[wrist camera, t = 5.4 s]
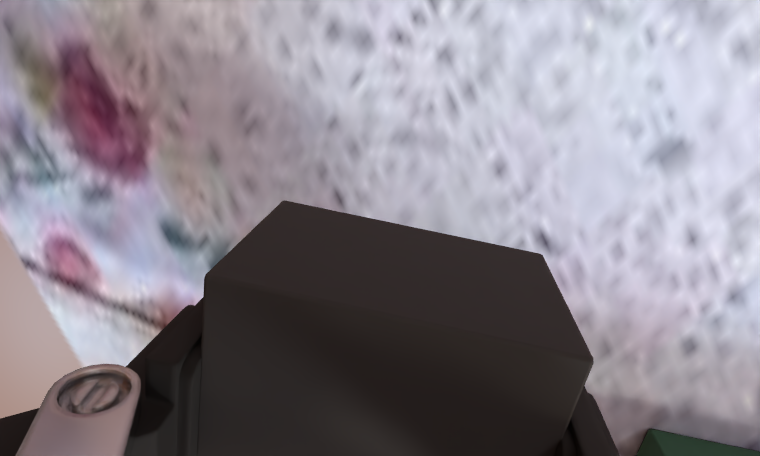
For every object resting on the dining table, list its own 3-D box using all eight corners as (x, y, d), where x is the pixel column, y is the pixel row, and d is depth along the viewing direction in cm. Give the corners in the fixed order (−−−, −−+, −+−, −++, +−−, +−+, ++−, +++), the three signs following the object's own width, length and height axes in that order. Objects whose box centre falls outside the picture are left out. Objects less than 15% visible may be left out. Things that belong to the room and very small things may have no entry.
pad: (282, 198, 11) (202, 274, 7) (543, 253, 11) (596, 360, 7) (260, 404, 13) (189, 543, 10) (476, 454, 13) (491, 618, 9)
